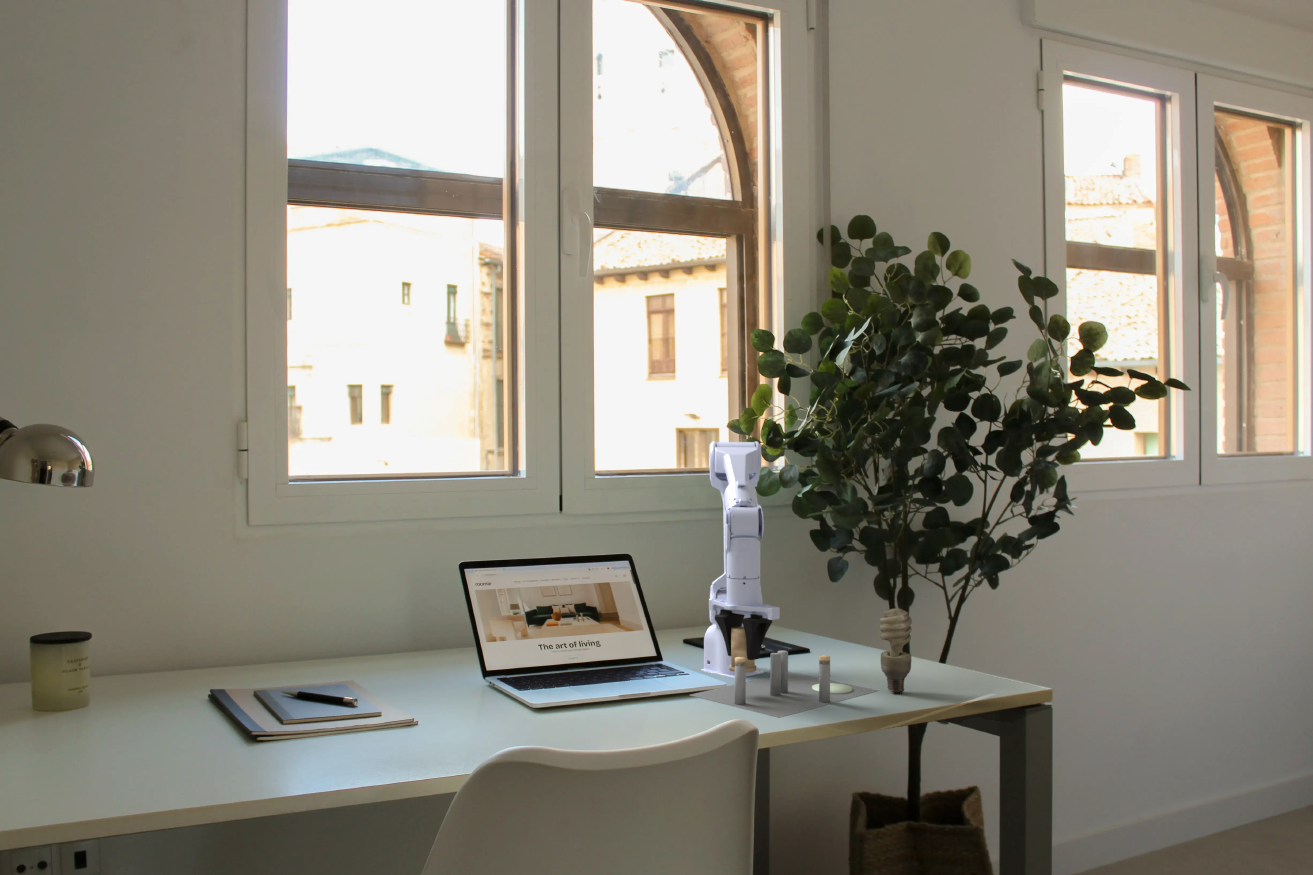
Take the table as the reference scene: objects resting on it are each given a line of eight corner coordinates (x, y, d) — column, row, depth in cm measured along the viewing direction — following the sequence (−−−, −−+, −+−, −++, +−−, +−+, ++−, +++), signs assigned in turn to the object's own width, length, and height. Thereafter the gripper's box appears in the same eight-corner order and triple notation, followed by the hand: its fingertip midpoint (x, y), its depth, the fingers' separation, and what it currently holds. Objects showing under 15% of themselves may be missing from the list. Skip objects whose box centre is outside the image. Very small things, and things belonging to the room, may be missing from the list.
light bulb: (912, 699, 175) (912, 611, 175) (879, 698, 176) (879, 610, 176) (911, 692, 180) (911, 606, 180) (879, 690, 181) (879, 605, 181)
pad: (803, 688, 181) (803, 687, 181) (828, 682, 185) (828, 681, 185) (836, 696, 176) (836, 694, 176) (860, 689, 180) (860, 687, 180)
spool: (723, 669, 176) (723, 628, 176) (741, 665, 179) (742, 625, 179) (743, 673, 172) (744, 631, 172) (762, 669, 175) (762, 628, 176)
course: (688, 697, 176) (688, 650, 176) (789, 674, 194) (790, 632, 195) (779, 719, 161) (779, 669, 161) (879, 692, 180) (879, 647, 180)
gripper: (696, 575, 178) (696, 653, 178) (759, 583, 168) (759, 666, 168) (724, 572, 183) (724, 648, 183) (787, 579, 173) (787, 661, 172)
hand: (743, 657), depth 176 cm, fingers closed on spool, 4 cm apart
